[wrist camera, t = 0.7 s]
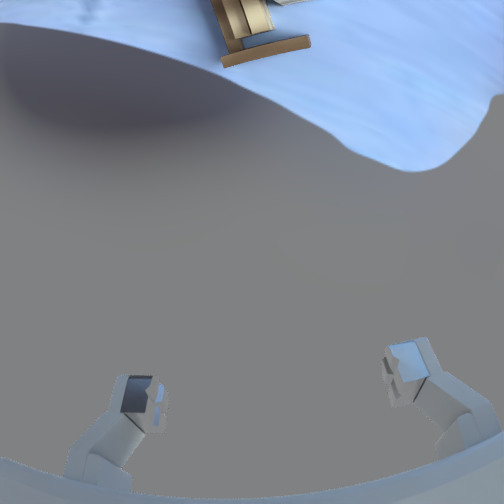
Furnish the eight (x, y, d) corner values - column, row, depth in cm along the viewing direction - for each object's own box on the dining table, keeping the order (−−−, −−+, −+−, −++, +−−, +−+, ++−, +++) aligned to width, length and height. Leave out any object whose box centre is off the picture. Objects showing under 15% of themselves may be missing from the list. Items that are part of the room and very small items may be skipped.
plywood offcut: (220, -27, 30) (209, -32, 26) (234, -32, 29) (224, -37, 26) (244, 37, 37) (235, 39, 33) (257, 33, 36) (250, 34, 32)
